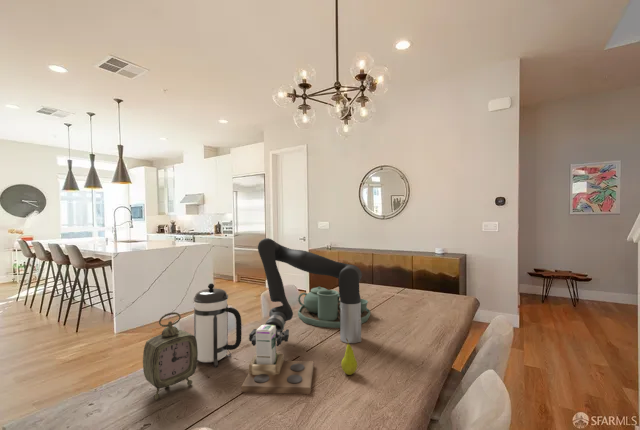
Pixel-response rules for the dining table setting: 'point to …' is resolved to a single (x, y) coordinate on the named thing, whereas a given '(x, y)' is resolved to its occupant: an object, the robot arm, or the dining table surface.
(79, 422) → the dining table surface
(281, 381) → the wooden board with discs
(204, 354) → the coffee press
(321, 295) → the tea set
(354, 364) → the fruit
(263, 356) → the syrup box
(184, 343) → the tabletop clock
